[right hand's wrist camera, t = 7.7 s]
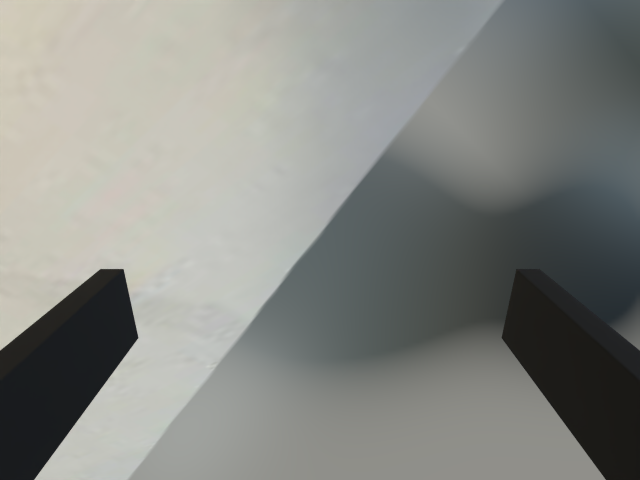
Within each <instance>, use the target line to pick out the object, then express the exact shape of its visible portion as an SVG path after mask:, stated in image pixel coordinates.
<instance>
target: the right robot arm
mask: <svg viewBox="0 0 640 480" xmlns="http://www.w3.org/2000/svg"><path fill="white" fill-rule="evenodd" d="M137 339H138V334H137V330H136V325H135V320H134V316H133V311H132V306H131V302H130V297H129V292H128V288H127V283H126V278H125V274H124V269H100V270H99V271H98V272H96V273H95V274H94V275H93V276H92V277H90V278H89V279H88V280H87V281H85V282H84V283H83V284H82V285H81V286H79V287H78V288H77V289H76V290H74V291H73V292H72V293H71V294H69V295H68V296H67V297H66V298H65V299H63V300H62V301H61V302H60V303H58V304H57V305H56V306H55V307H53V308H52V309H51V310H50V311H49V312H47V313H46V314H45V315H44V316H42V317H41V318H40V319H39V320H37V321H36V322H35V323H34V324H33V325H31V326H30V327H29V328H28V329H26V330H25V331H24V332H23V333H21V334H20V335H19V336H18V337H17V338H15V339H14V340H13V341H12V342H10V343H9V344H8V345H7V346H5V347H4V348H3V349H2V350H1V351H0V480H34V479H35V478H36V476H37V475H38V474H39V472H40V471H41V470H42V468H43V467H44V465H45V464H46V463H47V461H48V460H49V459H50V457H51V456H52V455H53V453H54V452H55V451H56V449H57V448H58V446H59V445H60V444H61V442H62V441H63V440H64V438H65V437H66V436H67V434H68V433H69V431H70V430H71V429H72V427H73V426H74V425H75V423H76V422H77V421H78V419H79V418H80V417H81V415H82V414H83V412H84V411H85V410H86V408H87V407H88V406H89V404H90V403H91V402H92V400H93V399H94V397H95V396H96V395H97V393H98V392H99V391H100V389H101V388H102V387H103V385H104V384H105V383H106V381H107V380H108V378H109V377H110V376H111V374H112V373H113V372H114V370H115V369H116V368H117V366H118V365H119V363H120V362H121V361H122V359H123V358H124V357H125V355H126V354H127V353H128V351H129V350H130V349H131V347H132V346H133V344H134V343H135V342H136V340H137ZM502 339H503V340H504V342H505V343H506V344H507V346H508V347H509V349H510V350H511V351H512V353H513V354H514V355H515V357H516V358H517V359H518V361H519V362H520V363H521V365H522V366H523V368H524V369H525V370H526V371H527V373H528V374H529V376H530V377H531V378H532V380H533V381H534V382H535V384H536V385H537V387H538V388H539V389H540V391H541V392H542V393H543V395H544V396H545V397H546V399H547V400H548V402H549V403H550V404H551V406H552V407H553V408H554V410H555V411H556V412H557V414H558V415H559V417H560V418H561V419H562V421H563V422H564V423H565V425H566V426H567V427H568V429H569V430H570V431H571V433H572V434H573V436H574V437H575V438H576V440H577V441H578V442H579V444H580V445H581V446H582V448H583V449H584V450H585V452H586V453H587V455H588V456H589V457H590V459H591V460H592V461H593V463H594V464H595V465H596V467H597V468H598V469H599V471H600V472H601V474H602V475H603V476H604V478H605V479H606V480H640V351H639V350H638V349H637V348H636V347H635V346H633V345H632V344H631V343H630V342H628V341H627V340H626V339H625V338H623V337H622V336H621V335H620V334H619V333H617V332H616V331H615V330H614V329H612V328H611V327H610V326H609V325H607V324H606V323H605V322H604V321H603V320H601V319H600V318H599V317H598V316H596V315H595V314H594V313H593V312H591V311H590V310H589V309H588V308H587V307H585V306H584V305H583V304H582V303H580V302H579V301H578V300H577V299H575V298H574V297H573V296H572V295H571V294H569V293H568V292H567V291H566V290H564V289H563V288H562V287H561V286H559V285H558V284H557V283H556V282H555V281H553V280H552V279H551V278H550V277H548V276H547V275H546V274H545V273H544V272H542V271H541V270H540V269H517V270H516V274H515V278H514V283H513V288H512V292H511V297H510V302H509V306H508V311H507V316H506V320H505V325H504V330H503V334H502Z"/></svg>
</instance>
